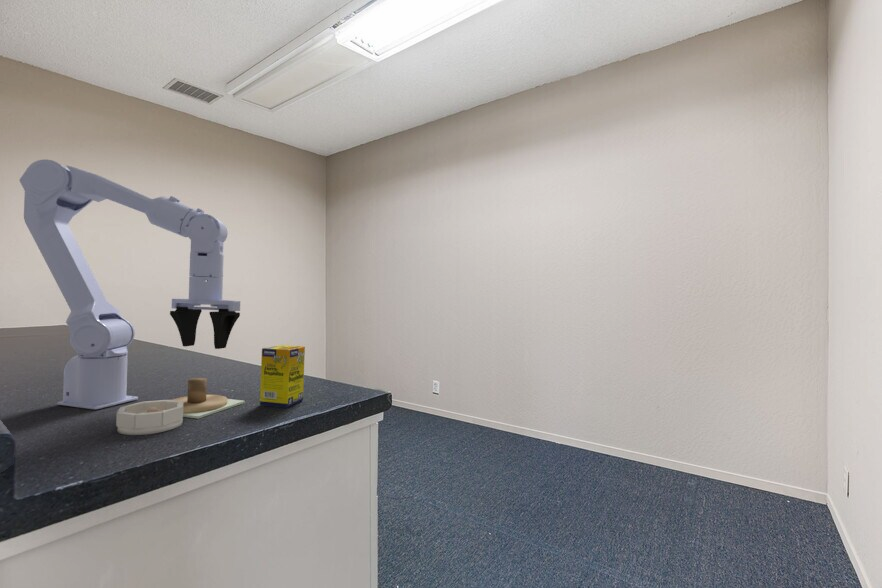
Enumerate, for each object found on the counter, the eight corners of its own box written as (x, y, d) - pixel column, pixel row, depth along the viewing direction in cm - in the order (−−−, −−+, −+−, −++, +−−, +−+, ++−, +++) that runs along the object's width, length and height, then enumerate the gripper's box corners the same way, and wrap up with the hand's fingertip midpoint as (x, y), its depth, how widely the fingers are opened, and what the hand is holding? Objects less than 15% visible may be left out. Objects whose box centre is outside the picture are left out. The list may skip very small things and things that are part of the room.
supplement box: (287, 408, 78) (289, 349, 78) (258, 405, 79) (260, 347, 79) (304, 400, 84) (305, 345, 84) (277, 398, 85) (278, 344, 85)
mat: (146, 411, 73) (147, 409, 73) (198, 397, 84) (198, 395, 84) (198, 418, 70) (198, 416, 70) (244, 402, 81) (245, 400, 81)
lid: (149, 410, 73) (150, 382, 73) (195, 396, 83) (196, 372, 83) (197, 415, 71) (198, 387, 71) (239, 401, 80) (240, 376, 80)
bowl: (103, 431, 63) (104, 411, 63) (154, 416, 71) (155, 398, 71) (147, 437, 61) (147, 417, 61) (195, 421, 69) (195, 403, 69)
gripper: (158, 275, 80) (156, 347, 80) (221, 276, 76) (219, 352, 76) (189, 277, 87) (187, 343, 87) (248, 278, 83) (246, 347, 83)
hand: (204, 347), depth 82 cm, fingers open, 7 cm apart
